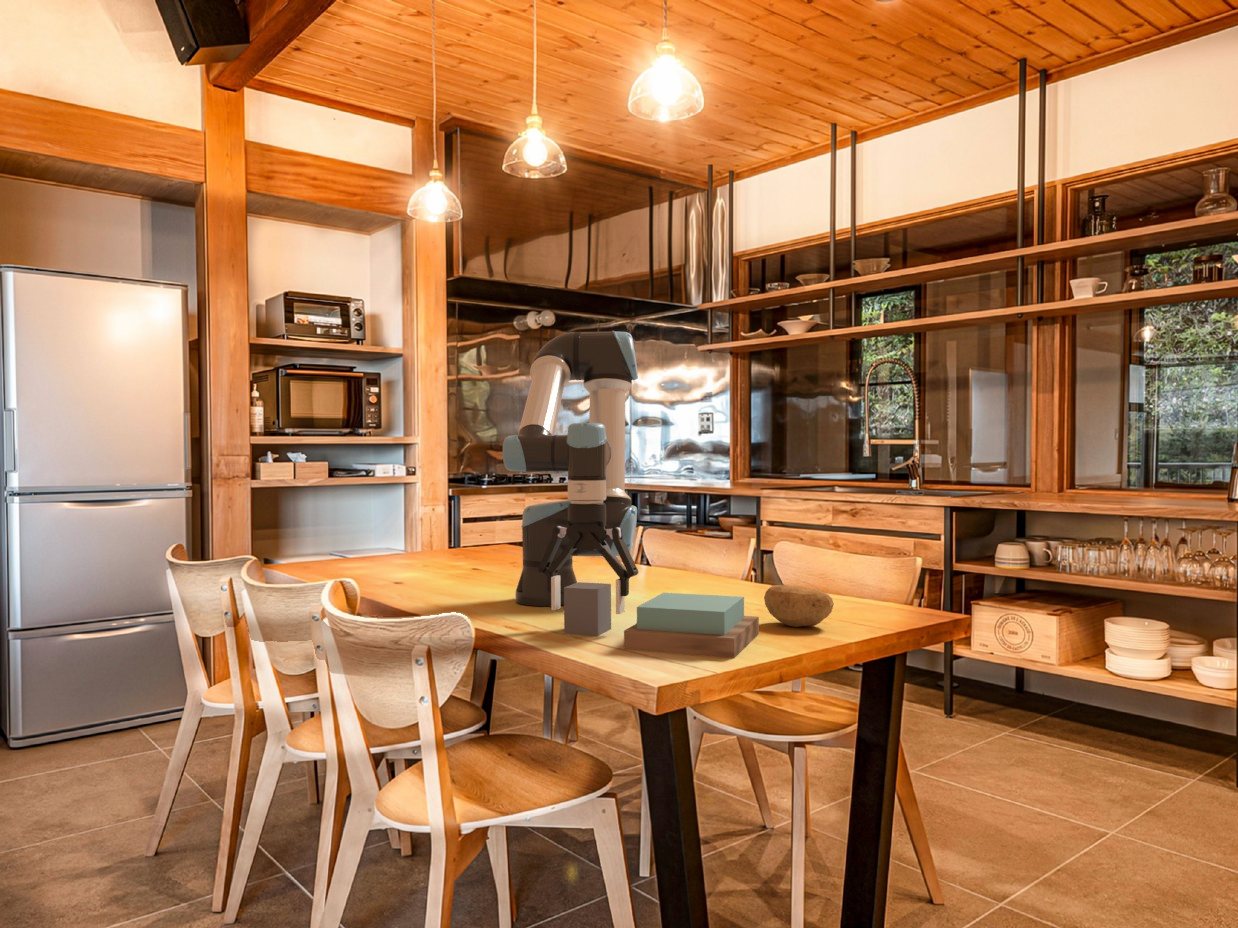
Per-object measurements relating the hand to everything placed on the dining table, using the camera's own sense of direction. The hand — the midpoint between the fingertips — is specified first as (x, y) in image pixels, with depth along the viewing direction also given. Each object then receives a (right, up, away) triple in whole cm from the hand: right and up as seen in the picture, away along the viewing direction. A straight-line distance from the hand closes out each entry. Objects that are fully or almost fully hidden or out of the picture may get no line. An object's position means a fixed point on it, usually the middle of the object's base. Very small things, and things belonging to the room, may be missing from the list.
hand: (587, 611), depth 171 cm
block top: (+20, -1, -9) cm, 22 cm away
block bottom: (+20, -5, -9) cm, 22 cm away
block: (0, -4, 0) cm, 4 cm away
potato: (+42, -4, +4) cm, 42 cm away
